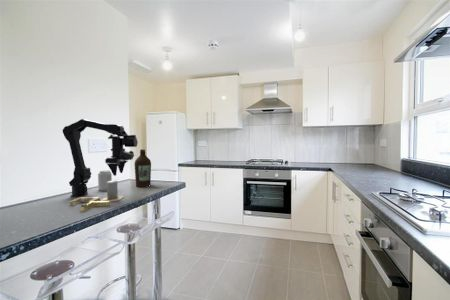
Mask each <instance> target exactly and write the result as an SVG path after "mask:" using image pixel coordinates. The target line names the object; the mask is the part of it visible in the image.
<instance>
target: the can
mask: <svg viewBox="0 0 450 300" xmlns="http://www.w3.org/2000/svg"><path fill="white" fill-rule="evenodd" d="M112 176H113V173H112V171H111V170H109V169H108V170H99V172H98V174H97V183H98V186H97V187H98V190H99V191H101V192H102V191H103V192H104V191H107V182H108V181H113V180H112V179H113V178H112Z"/></svg>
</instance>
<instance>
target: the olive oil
mask: <svg viewBox="0 0 450 300" xmlns="http://www.w3.org/2000/svg"><path fill="white" fill-rule="evenodd" d="M134 173H135V187H136V188H147V187H146V186H148V187H150V186H151V178H152V174H151V173H152V162H151V160H150V158H149V157H148V156H147V154H146V149H140V150H139V156H138V157H137V158H136V159H135V160H134ZM149 185H150V186H149Z"/></svg>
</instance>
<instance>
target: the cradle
mask: <svg viewBox="0 0 450 300" xmlns="http://www.w3.org/2000/svg"><path fill="white" fill-rule="evenodd" d="M100 200H101V197H100V196H78V197H77V198H74V199H72V200H70V201H69V206H76V205H78V204H80V203H89V202H92V201H100Z"/></svg>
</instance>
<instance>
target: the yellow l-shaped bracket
mask: <svg viewBox="0 0 450 300" xmlns="http://www.w3.org/2000/svg"><path fill="white" fill-rule="evenodd" d="M110 206H111V201H92V202H83V203H81V204H80V209H79V210H80V212H86V211H87V210H89V209H91V208H92V207H110Z"/></svg>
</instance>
